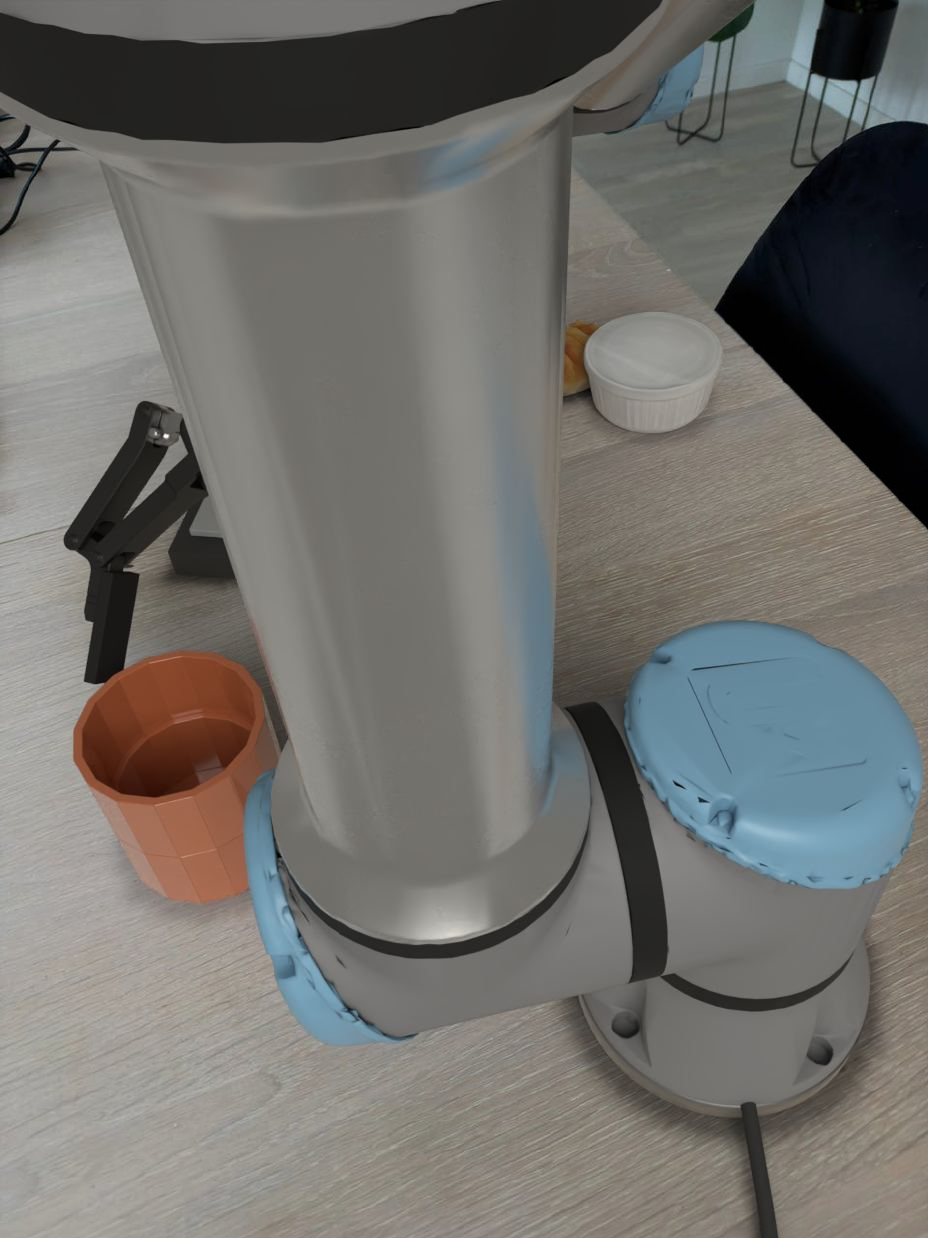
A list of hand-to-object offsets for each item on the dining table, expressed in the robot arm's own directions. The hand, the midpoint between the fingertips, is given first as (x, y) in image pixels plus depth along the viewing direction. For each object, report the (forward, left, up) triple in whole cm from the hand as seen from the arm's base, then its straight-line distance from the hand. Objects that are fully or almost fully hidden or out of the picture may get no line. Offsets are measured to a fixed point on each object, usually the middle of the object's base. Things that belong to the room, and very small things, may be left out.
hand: (204, 708), depth 62 cm
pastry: (+45, -16, -7) cm, 48 cm away
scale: (+26, +2, -9) cm, 28 cm away
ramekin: (+42, -24, -9) cm, 49 cm away
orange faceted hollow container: (-3, 0, -9) cm, 9 cm away
